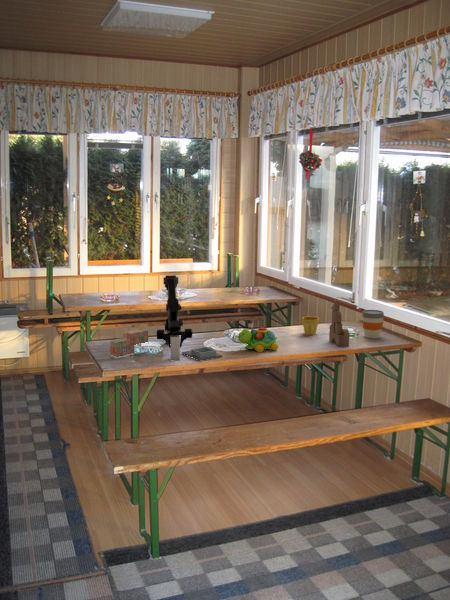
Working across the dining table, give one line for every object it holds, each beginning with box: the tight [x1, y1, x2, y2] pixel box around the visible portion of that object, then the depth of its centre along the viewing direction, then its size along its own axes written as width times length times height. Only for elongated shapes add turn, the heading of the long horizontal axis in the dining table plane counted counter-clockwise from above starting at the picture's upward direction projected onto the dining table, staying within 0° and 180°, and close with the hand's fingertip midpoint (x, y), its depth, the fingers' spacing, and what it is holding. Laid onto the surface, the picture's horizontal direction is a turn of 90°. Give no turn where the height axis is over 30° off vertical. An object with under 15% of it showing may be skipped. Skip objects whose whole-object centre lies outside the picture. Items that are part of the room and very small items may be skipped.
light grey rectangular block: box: [170, 335, 181, 361], centre depth 331 cm, size 4×4×12 cm
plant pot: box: [301, 315, 320, 336], centre depth 386 cm, size 10×10×10 cm
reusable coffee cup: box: [361, 309, 385, 339], centre depth 378 cm, size 13×13×15 cm
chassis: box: [181, 346, 223, 361], centre depth 339 cm, size 18×14×4 cm
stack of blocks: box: [109, 328, 149, 357], centre depth 341 cm, size 21×6×12 cm, turn 138°
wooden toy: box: [328, 300, 350, 348], centre depth 362 cm, size 15×7×25 cm, turn 13°
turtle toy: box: [237, 327, 279, 353], centre depth 351 cm, size 17×23×12 cm
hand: (175, 347), depth 329 cm, fingers open, 5 cm apart
